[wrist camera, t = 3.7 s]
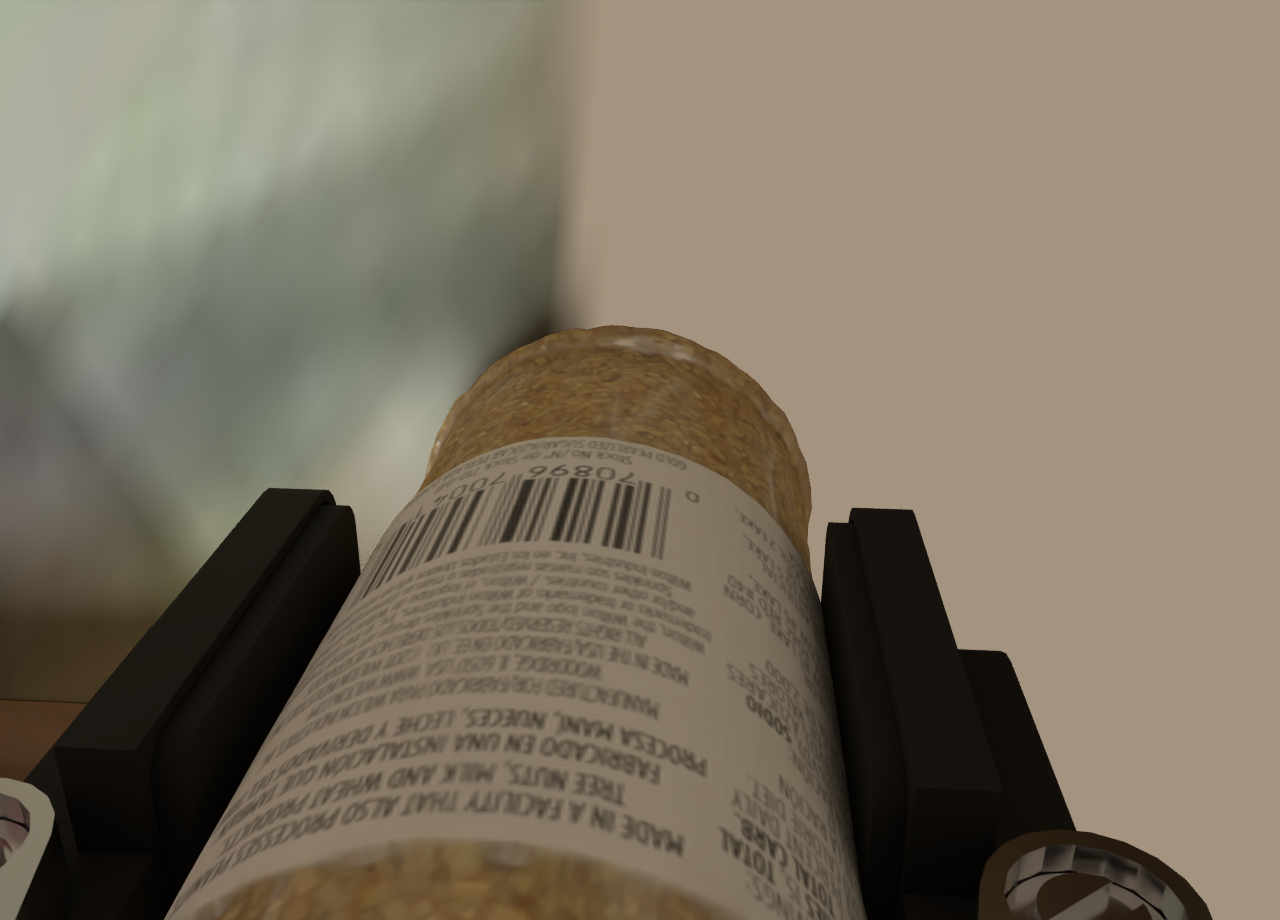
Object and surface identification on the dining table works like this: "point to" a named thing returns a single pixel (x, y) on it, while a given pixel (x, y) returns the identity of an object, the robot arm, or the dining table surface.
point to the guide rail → (30, 733)
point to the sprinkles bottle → (566, 673)
